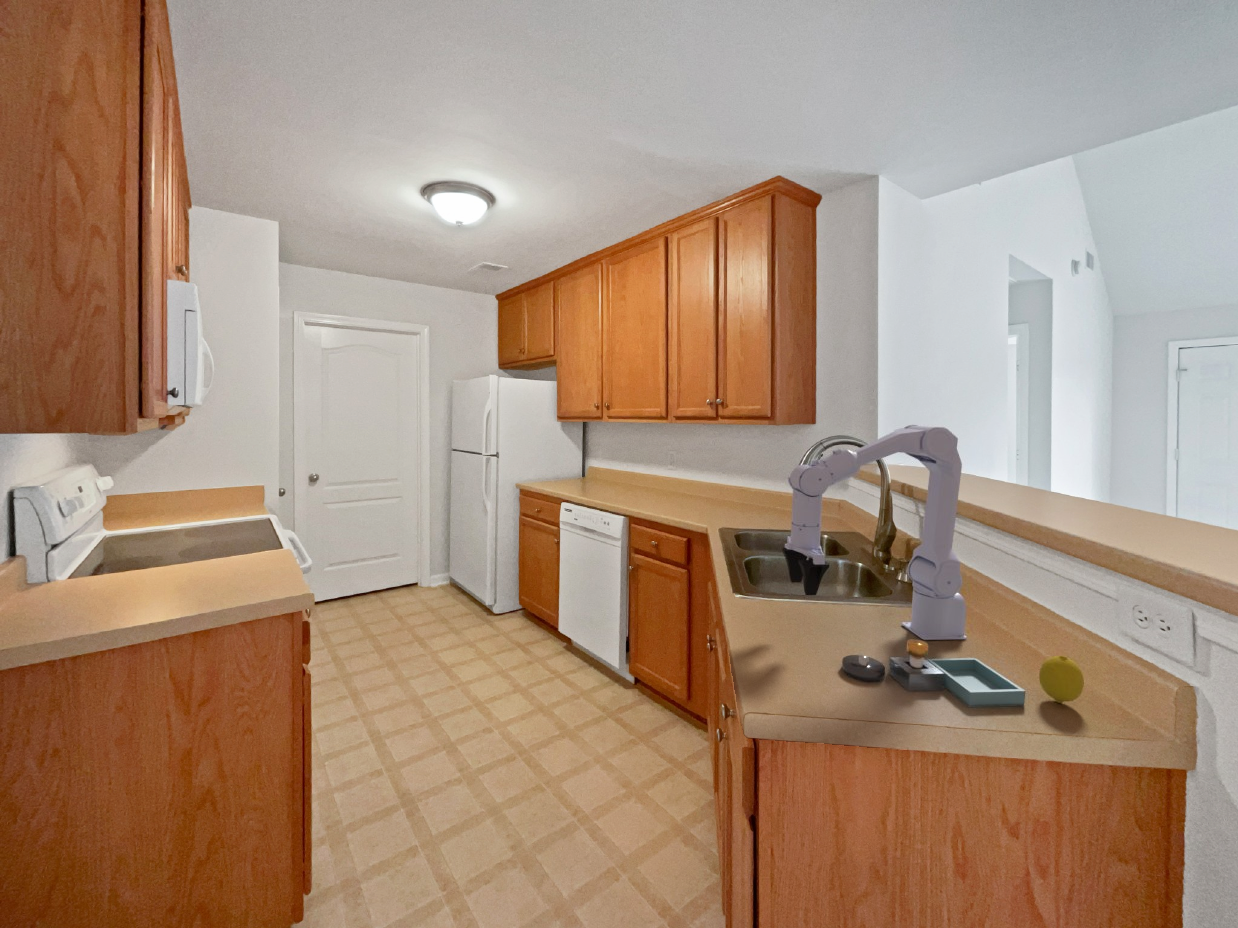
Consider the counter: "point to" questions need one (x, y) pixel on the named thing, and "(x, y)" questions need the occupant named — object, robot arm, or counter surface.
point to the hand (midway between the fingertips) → (803, 588)
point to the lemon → (1061, 679)
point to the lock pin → (917, 652)
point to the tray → (978, 683)
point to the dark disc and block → (894, 672)
